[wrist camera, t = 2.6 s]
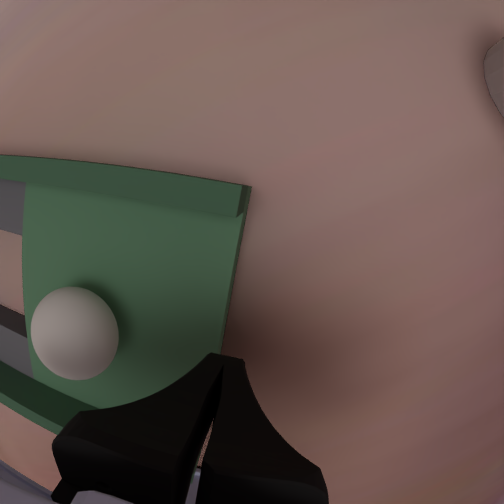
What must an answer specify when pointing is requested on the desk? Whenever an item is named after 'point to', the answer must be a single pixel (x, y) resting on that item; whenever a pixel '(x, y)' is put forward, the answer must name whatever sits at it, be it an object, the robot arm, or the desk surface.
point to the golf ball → (74, 333)
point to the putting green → (117, 274)
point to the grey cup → (495, 74)
